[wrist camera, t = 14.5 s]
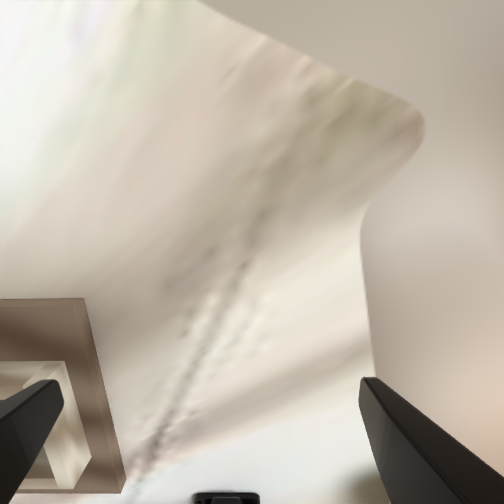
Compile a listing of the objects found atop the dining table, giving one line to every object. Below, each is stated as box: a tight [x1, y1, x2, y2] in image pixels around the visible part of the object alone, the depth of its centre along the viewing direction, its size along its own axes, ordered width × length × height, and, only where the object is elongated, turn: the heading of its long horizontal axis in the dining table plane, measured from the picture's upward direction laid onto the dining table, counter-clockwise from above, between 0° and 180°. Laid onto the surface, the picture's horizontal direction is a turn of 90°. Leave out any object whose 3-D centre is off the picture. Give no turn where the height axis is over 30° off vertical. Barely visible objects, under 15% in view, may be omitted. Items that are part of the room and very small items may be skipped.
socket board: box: [0, 298, 126, 494], centre depth 22 cm, size 20×14×4 cm
